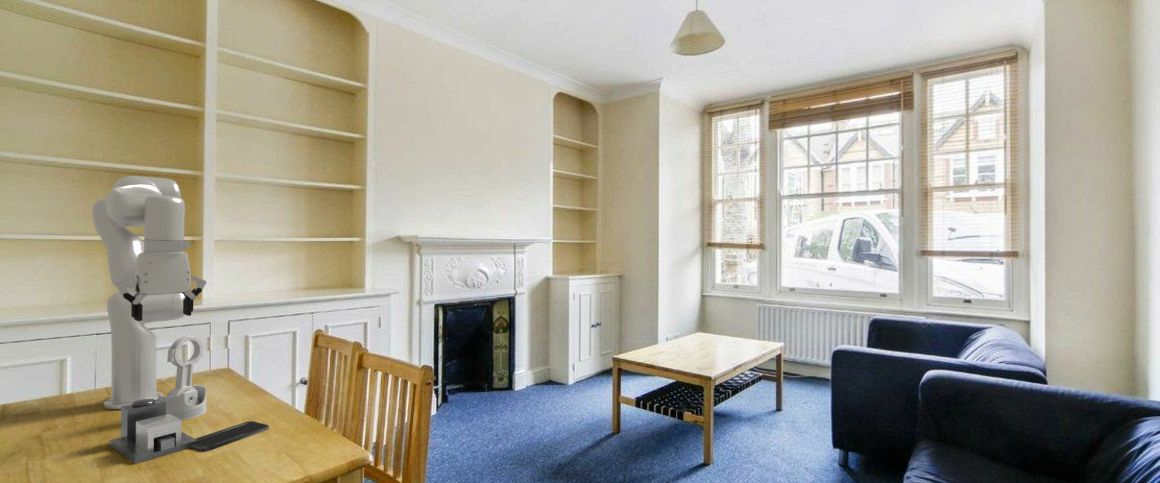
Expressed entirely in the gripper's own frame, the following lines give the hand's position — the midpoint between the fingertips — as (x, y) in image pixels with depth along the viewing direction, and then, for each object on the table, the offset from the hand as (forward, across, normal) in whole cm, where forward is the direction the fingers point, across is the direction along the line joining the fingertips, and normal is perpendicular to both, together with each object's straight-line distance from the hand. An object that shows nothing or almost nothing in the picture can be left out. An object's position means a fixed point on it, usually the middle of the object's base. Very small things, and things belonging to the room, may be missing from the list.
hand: (163, 317), depth 124 cm
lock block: (+26, +5, +14) cm, 29 cm away
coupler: (+27, +5, +11) cm, 29 cm away
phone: (+27, -7, +19) cm, 34 cm away
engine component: (+28, -7, -7) cm, 30 cm away
